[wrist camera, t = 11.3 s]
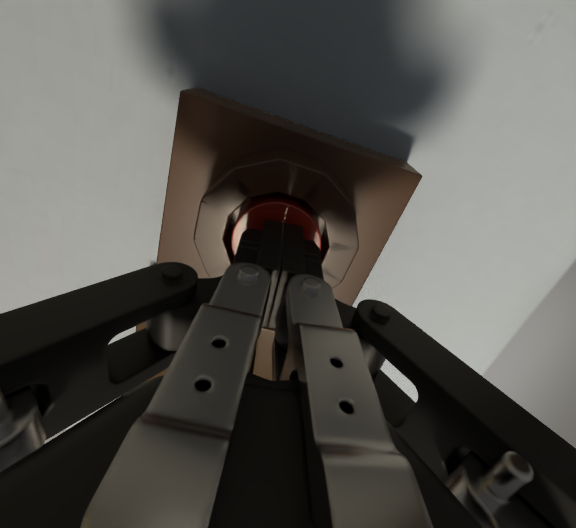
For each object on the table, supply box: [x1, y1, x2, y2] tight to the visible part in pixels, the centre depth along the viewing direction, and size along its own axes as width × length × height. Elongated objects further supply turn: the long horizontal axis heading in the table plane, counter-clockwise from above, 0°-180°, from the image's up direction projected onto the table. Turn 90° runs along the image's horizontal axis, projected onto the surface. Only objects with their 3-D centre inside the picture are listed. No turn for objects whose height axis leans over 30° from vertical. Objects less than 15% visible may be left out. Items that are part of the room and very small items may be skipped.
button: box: [231, 192, 321, 256], centre depth 14 cm, size 4×4×2 cm
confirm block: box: [156, 87, 422, 306], centre depth 15 cm, size 10×8×4 cm
